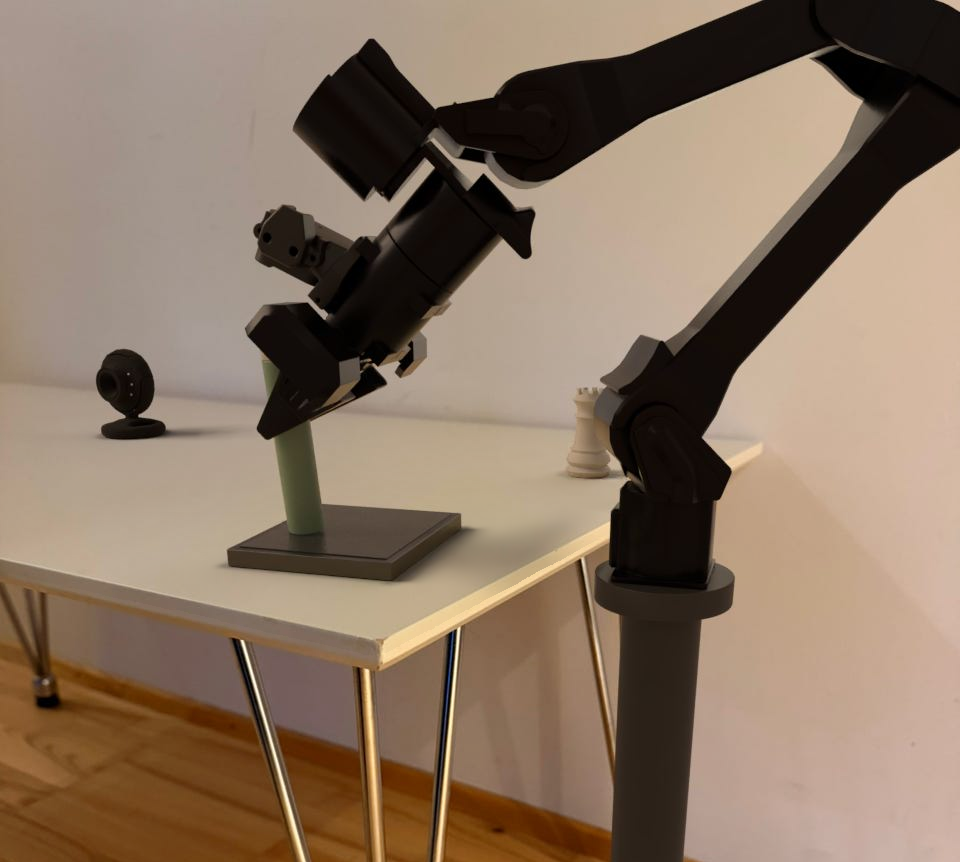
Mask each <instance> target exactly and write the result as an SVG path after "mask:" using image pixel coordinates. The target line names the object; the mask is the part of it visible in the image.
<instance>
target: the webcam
mask: <svg viewBox="0 0 960 862" xmlns="http://www.w3.org/2000/svg"><path fill="white" fill-rule="evenodd" d="M95 376H96V377H95V385H96V390H97V392H98V394H99V395H100V398H102V399H103V400H104V401H105V402H107V403H109V405H110V406H111V407H112V408H113V409H114V410H115V411H117V412H118V413H120V414H122V415H123V416H124V418H118V419H116V420H114V421H111V422H106V423H104V424H102V425H101V427H100V432H101V435H102V436H103V437H105V438H106V439H113V440H127V439H128V440H130V439H131V440H133V439H144V438H145V439H146V438H150V437H151V438H152V437H157V436H160V435H162V434H164V433H165V432H166V430H167V427H166V424H165V423H164V422H163V421H161V420H158V419H155V418H150V417H142V416H140V415H141V414H143V413H145V412H147V410H148V409H149V408H150V406H151V405H152V403H153V402H154V398H155V391H156V388H155V379H154V375H153V372H152V370H151V367H150V365H149V363H148V362H147V361H146V359H145V358H144V357H143V356H142V355H141V354H139V353H138V352H136V351H134V350H132V349H129V348H118V349H114V350H112V351H111V352H109V353H107V354H106V355H105V357H104V358H103V360H102V361H101V365H100V368H99V369H98V370H97V372H96V375H95Z"/></svg>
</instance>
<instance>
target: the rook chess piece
mask: <svg viewBox="0 0 960 862" xmlns="http://www.w3.org/2000/svg"><path fill="white" fill-rule="evenodd" d="M604 388H605V387H598V386H597V387H594V386H592V387H591V390H589V387H587V386H584V387H578V388H576V394H575V395H574V396H573V397H572V401H573V403H574V404H575V406H576V409H577V411H576V413H575V414H574V417H575V418H576V427H575V434H574V439H573V443H572V446H570V451H569V452H568V453H567V454H566V457H565V461H566V462H567V466H565V467H564V471H565V472H566V473H567V475H568V476H571V477H575V478H583V479H597V478H602V477H603V478H604V477H606V476H608V475H609V473H610V472H611V471H612V468H611V466H609V464H610V462H611V461H612V460H611V457H610V453H609V452H608V451H607V450H606V448H605V447H604V446H603V445H602V443H601V442H600V441H599V440H598V437H597V435H596V432H595V429H594V417H593V414H594V412H593V409H594V406H595V403H596V400H597V399H598V397H599V396H600V394H601V392H602V391H603V389H604Z"/></svg>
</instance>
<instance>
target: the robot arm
mask: <svg viewBox="0 0 960 862" xmlns="http://www.w3.org/2000/svg"><path fill="white" fill-rule="evenodd" d="M805 59H808V60H811V61H812V62H814V63H816V64H818V65H819V66H821V67H822V68H823V69H824V70H825V71H826V72H827V73H828V74H829V75H830V76H831V77H832V78H833V79H834V80H835V81H836V82H838V84H839V85H841V86H842V88H844V90H846V92H848V93H849V94H850V95H852V96H853V97H855V98H857V99H858V100H860V101H862V102H861V104H860V105H859V107H858V109H857V111H856V113H855V116H854V118H853V120H852V123H851V125H850V127H849V130H848V132H847V134H846V137H845V139H844V142H843V144H842V146H841V148H840V149H839V150H838V152H837V153H836V155H835V156H834V157H833V158H832V159H831V161H830V162H829V163H828V164H827V165H826V167H824V169H823V170H822V171H821V172H820V173H819V175H818V176H817V177H816V178H814V180H813V181H812V182H811V183H810V185H809V186H808V187H807V188H806V189H805V191H803V193H802V194H801V195H800V196H799V197H798V199H797V200H796V201H795V202H794V203H793V204H792V205H791V206H790V208H789V209H787V211H786V212H785V213H784V214H783V216H781V217H780V219H779V220H778V221H777V222H776V224H775V225H774V226H773V227H772V228H771V229H770V230H769V232H768V233H767V234H766V235H765V236H764V237H763V238H762V240H760V242H759V243H758V244H757V245H756V247H754V249H753V250H752V251H751V252H750V253H749V254H748V255H747V256H746V257H745V259H744V260H743V261H742V262H741V263H740V264H739V265H738V267H737V268H736V269H735V271H733V272H732V274H731V275H730V276H729V277H728V278H727V279H726V280H725V282H724V283H723V284H722V285H721V286H720V288H718V290H717V291H716V292H715V293H714V294H713V295H712V297H710V299H709V300H708V301H707V302H706V304H704V305H703V307H702V308H701V309H700V310H699V311H698V312H697V313H696V315H695V316H694V317H693V318H692V319H691V320H690V322H689V323H687V325H686V326H685V327H684V328H682V329H681V330H680V331H679V332H677V333H675V334H674V335H673V336H671V337H670V338H668V339H667V340H662V339H659V338H655V337H653V336H649V335H646V334H643V333H642V334H640V335H638V337H637V338H636V339H635V341H634V342H633V343H632V345H631V346H630V348H629V350H628V351H627V353H626V354H625V356H624V358H623V359H622V361H620V363H619V364H618V365H617V366H616V367H615V368H614V369H613V370H612V371H610V372H609V373H606V374H605V375H602V376H601V377H600V378H599V382H600V383H602V384H603V385H605V387H603V388H604V389H603V391H602V392H601V394H600V396H599V397H598V399H597V400H596V403H595V406H594V409H593V412H594V414H593V417H594V429H595V432H596V435H597V437H598V440H599V441H600V442H601V443H602V445H603V446H604V447H605V448H606V451H607V452H608V453H609V454H610V455H612V457H614V459H615V460H616V461H618V463H619V465H620V469H621V470H622V471H621V472H622V475H623V476H624V477H625V478H628V479H629V480H626V481H625V482H624V484H623V485H622V486H621V487H620V488H619V499H618V502H617V503H616V504H615V505H614V507H613V508H612V509H611V510H610V521H609V541H608V542H609V543H608V544H609V545H608V546H609V547H608V560H609V565H610V567H611V568H615V569H614V571H613V572H612V574H611V581H612V582H615V583H625V584H637V585H648V586H660V587H672V588H683V589H695V590H705V589H707V588H708V585H709V582H710V579H711V576H712V573H713V570H714V567H715V563H716V558H713V555H714V544H715V543H714V542H715V532H716V531H715V530H716V529H715V528H716V517H717V505H718V501H720V500H721V499H722V497H723V494H724V492H725V490H726V488H727V485H728V483H729V480H730V478H731V477H732V473H733V469H732V468H731V467H730V465H729V464H728V463H727V462H726V461H725V460H724V459H723V458H722V456H720V455H719V454H718V453H717V452H716V451H715V449H713V448H712V446H711V445H710V444H709V443H708V442H707V441H706V440H705V439H704V438H703V437H704V435H705V433H707V431H708V429H709V428H710V426H711V424H713V422H714V420H715V418H716V417H717V415H718V413H719V411H720V407H721V406H722V405H723V401H724V399H725V397H726V395H727V392H728V390H729V388H730V386H731V383H732V380H733V378H734V376H735V375H736V372H737V371H738V370H739V368H740V367H741V365H743V364H744V362H746V361H747V359H748V358H749V357H750V356H751V354H752V353H753V352H754V351H756V349H757V348H758V347H759V346H760V345H761V344H762V342H763V341H764V340H765V339H767V337H768V336H769V335H770V333H772V331H773V330H774V329H775V328H776V327H777V326H778V325H779V324H780V322H781V321H782V320H783V319H784V318H785V317H786V316H787V315H788V314H789V313H790V311H791V310H792V309H793V308H794V307H795V306H796V305H797V304H798V302H800V300H801V299H802V298H804V296H805V295H806V294H807V293H808V292H809V291H810V289H811V288H812V287H813V286H814V285H815V284H816V283H817V282H818V281H819V279H820V278H821V277H822V276H823V275H824V274H825V273H826V271H827V270H829V269H830V267H831V266H832V265H833V264H834V263H835V262H836V260H837V259H838V258H839V257H840V256H841V255H842V254H843V253H844V252H845V251H846V250H847V249H848V247H850V245H851V244H852V243H853V242H854V241H855V240H856V238H857V237H858V236H859V235H860V234H861V233H863V231H864V230H865V229H866V227H867V226H869V224H870V223H871V222H872V220H874V218H875V217H877V215H878V214H879V213H880V212H881V211H882V210H883V209H884V207H886V206H887V204H888V203H889V202H890V201H891V200H892V199H893V197H894V196H895V195H896V194H898V192H899V191H900V190H902V189H903V188H904V187H905V186H907V185H908V184H910V183H911V182H913V181H914V180H915V179H917V178H919V177H920V176H922V175H923V174H925V173H927V172H928V171H929V170H931V169H932V168H934V167H935V166H937V165H939V164H940V163H942V162H944V160H946V159H947V158H949V157H951V156H952V155H954V154H955V153H957V152H958V151H959V150H960V11H959V10H958V9H956V8H955V7H953V6H952V5H950V4H947V3H945V2H944V1H940V0H759V1H757V2H754V3H752V4H749V5H747V6H744V7H741V8H739V9H737V10H734V11H731V12H730V13H727V14H725V15H722V16H720V17H718V18H715V19H713V20H709V21H707V22H705V23H703V24H700V25H698V26H696V27H693V28H691V29H687V30H685V31H683V32H681V33H678V34H676V35H673V36H671V37H668V38H666V39H662V40H661V41H657V42H656V43H653V44H651V45H648V46H646V47H644V48H642V49H639V50H637V51H634V52H632V53H631V52H630V53H627V54H621V55H617V56H614V57H606V58H594V59H585V60H584V59H583V60H576V61H569V62H565V63H559V64H556V65H549V66H545V67H541V68H535V69H530V70H529V69H528V70H525V71H522V72H519V73H517V74H515V75H513V76H512V77H510V78H509V79H507V80H506V81H505V82H503V84H502V85H501V86H500V87H498V90H497V91H496V92H495V94H494V95H493V96H492V97H487V98H481V99H475V100H470V101H465V102H460V103H457V101H453V102H452V103H451V104H448V105H442V106H437V107H436V108H435V107H434V106H433V105H432V104H431V103H430V101H428V100H427V99H426V97H425V96H423V94H422V93H421V92H420V91H419V90H418V89H417V88H416V87H415V86H414V85H413V84H412V82H410V80H408V78H407V77H406V76H405V75H404V74H403V73H402V72H401V71H400V70H399V69H398V68H397V66H396V64H395V62H394V61H393V59H392V57H391V55H390V54H389V53H388V52H387V50H385V48H384V47H383V46H382V45H381V44H380V43H379V42H378V41H377V40H376V39H375V38H373V37H372V38H368V39H367V40H366V41H365V42H364V44H363V45H362V46H361V48H360V49H358V51H357V52H356V53H354V54H353V55H351V56H350V57H349V58H347V60H345V61H344V62H343V63H342V64H341V65H340V66H339V67H338V68H337V69H336V71H334V73H332V75H331V74H330V73H328V74H327V75H326V76H325V77H324V78H323V79H322V81H321V82H320V83H319V85H318V86H317V87H316V88H315V89H314V91H313V92H312V94H311V95H310V96H309V98H308V99H307V101H305V103H304V105H303V107H302V108H301V110H300V111H299V113H298V115H297V117H296V118H295V120H294V123H293V125H292V132H293V133H294V134H295V135H296V136H297V137H298V138H299V139H300V140H301V141H302V142H303V143H304V144H305V145H306V146H307V147H308V148H309V149H310V150H311V151H312V152H313V153H314V154H315V155H316V156H317V157H318V158H319V159H320V160H321V161H322V162H323V163H324V164H325V165H326V166H327V167H328V168H329V169H330V170H331V171H332V172H333V173H334V174H335V175H336V176H337V177H338V178H339V179H340V180H341V181H342V182H343V183H344V184H345V185H346V186H347V187H348V188H349V189H350V190H351V191H352V192H353V193H354V194H355V195H356V196H357V197H358V198H359V199H360V200H361V201H362V202H363V203H365V202H367V201H368V200H370V199H371V198H372V196H374V194H375V193H377V194H378V195H379V196H380V197H381V198H383V199H385V201H386V202H387V203H391V202H392V201H393V200H394V199H395V198H396V197H397V196H398V195H399V194H400V193H401V192H402V190H403V189H404V188H405V187H406V186H407V184H409V182H410V181H411V180H412V179H413V177H414V176H415V175H416V174H417V172H419V170H420V169H421V167H422V166H423V165H424V163H426V161H428V163H430V164H431V166H433V169H432V170H431V171H430V172H429V174H428V175H426V177H425V178H424V180H423V181H422V182H421V183H420V184H419V186H418V187H416V189H415V190H414V192H413V193H412V194H411V195H410V196H409V197H408V198H407V200H406V201H405V202H404V204H403V205H402V206H401V207H400V208H399V210H398V211H397V212H396V213H395V214H394V215H393V216H392V218H391V219H390V220H389V221H388V223H387V224H386V225H385V226H384V227H383V228H382V230H381V231H380V232H379V233H378V234H377V236H376V235H361V236H359V237H357V238H356V239H355V240H353V239H350V238H349V237H347V236H345V235H344V234H341V233H339V232H338V231H336V230H333V229H331V228H329V227H328V226H326V225H324V224H322V223H320V222H318V221H316V220H315V216H314V215H312V214H310V213H305V212H301V211H299V210H297V207H296V206H295V205H291V204H284V203H282V204H281V205H279V206H278V207H277V208H276V209H273V208H271V209H269V211H268V210H266V211H265V213H264V216H263V218H262V220H261V222H258V223H256V224H254V226H253V228H252V234H253V235H254V237H255V238H256V239H257V243H256V244H257V249H256V253H255V255H254V259H255V261H256V262H258V263H259V264H261V265H263V266H264V267H266V268H269V269H270V268H275V269H277V270H279V271H280V272H283V273H285V274H286V275H289V276H291V277H293V278H295V279H296V280H298V281H300V282H302V283H305V284H306V285H309V286H310V287H313V288H312V289H311V290H310V292H308V294H307V297H308V298H309V299H310V300H311V301H312V302H313V304H315V306H317V307H318V309H319V310H321V311H324V312H325V313H326V314H327V316H326V317H325V319H324V318H323V317H322V316H321V314H319V312H318V311H317V310H316V309H315V308H314V307H313V306H312V305H311V303H309V302H308V301H285V302H276V303H275V302H274V303H265V304H263V305H262V306H261V307H260V308H259V310H258V311H257V312H256V314H254V316H253V317H252V318H251V319H250V321H249V322H248V323H247V324H246V326H245V327H244V330H245V331H244V332H245V335H246V337H247V338H248V339H249V340H250V341H251V342H252V344H254V345H255V346H256V348H258V349H259V351H260V350H261V351H262V352H263V353H264V354H265V355H266V357H267V358H268V359H269V360H270V361H271V362H272V363H273V364H274V365H275V366H276V367H277V368H278V369H279V370H280V371H279V374H278V377H277V380H276V382H275V385H274V387H273V389H272V392H271V394H270V397H269V399H268V398H267V401H266V404H265V406H264V408H263V411H262V413H261V416H260V418H259V420H258V423H257V425H256V432H257V433H258V434H259V435H260V436H261V437H262V438H263V439H264V440H266V441H270V440H272V439H274V437H276V436H278V435H280V434H282V433H284V432H286V431H289V430H291V429H293V428H295V427H297V426H299V425H301V424H303V423H305V422H307V421H309V420H310V423H311V422H313V421H315V420H317V419H319V418H321V417H324V416H326V415H328V414H330V413H332V412H335V411H337V410H339V409H341V408H343V407H345V406H347V405H350V404H351V403H353V402H356V401H357V400H360V399H362V398H364V397H366V396H368V395H370V394H372V393H375V392H377V391H379V390H381V389H384V388H386V387H387V386H388V381H387V379H386V378H385V377H384V376H383V375H382V374H381V372H379V370H378V369H376V367H377V368H379V367H382V366H386V365H388V364H392V363H396V362H398V363H399V365H398V366H397V367H396V369H395V371H394V374H395V375H396V376H397V377H398V378H399V379H403V378H406V377H408V376H410V375H412V374H413V373H414V372H415V371H416V369H418V367H420V365H421V364H422V363H423V362H424V361H425V360H426V359H427V358H428V339H427V337H426V336H425V335H424V334H423V332H421V330H422V329H423V328H424V327H425V326H426V325H427V324H428V323H429V322H430V320H431V319H432V318H434V317H438V316H443V315H444V313H445V312H446V311H447V310H448V309H449V308H450V307H451V306H452V305H453V303H452V301H451V300H450V299H451V298H452V296H453V295H454V294H455V293H456V292H457V291H458V290H459V288H460V287H461V286H462V285H463V284H464V283H465V282H466V281H467V279H468V278H469V277H470V276H471V275H472V274H473V273H474V272H475V271H476V270H477V268H478V267H479V266H480V265H481V264H482V263H483V262H484V261H485V260H486V259H487V258H488V256H489V255H490V254H491V253H492V252H493V251H494V250H495V248H497V246H498V245H499V244H500V243H501V242H502V241H504V242H505V243H506V244H507V245H508V246H509V247H510V248H511V249H512V250H513V251H514V252H515V253H516V255H518V256H519V257H520V259H522V260H528V259H530V258H531V257H532V256H533V252H534V247H535V241H534V223H535V219H536V218H537V217H536V216H537V212H538V209H537V208H536V206H534V205H529V206H516V205H515V204H514V203H513V202H512V201H511V200H510V199H509V198H508V197H507V196H506V195H505V194H504V193H503V191H502V190H501V189H500V188H499V187H498V186H497V185H496V184H495V183H494V182H493V181H492V180H491V179H490V178H489V176H488V175H486V173H484V172H483V173H482V174H481V175H480V176H479V177H478V178H477V179H476V180H475V182H473V181H471V179H470V178H469V177H467V176H466V175H465V174H464V173H463V172H462V171H461V170H460V168H458V167H457V166H456V165H455V164H454V163H453V162H452V161H451V160H450V159H449V158H448V157H447V156H446V155H445V154H444V153H443V152H442V151H441V149H439V147H438V146H437V145H436V144H435V143H434V142H433V141H432V140H433V139H434V140H435V141H436V142H437V143H438V144H439V145H440V146H441V147H442V148H443V149H444V151H446V152H447V154H449V156H450V157H452V158H453V159H455V160H460V161H465V162H471V163H475V164H481V165H486V166H487V168H488V170H489V171H490V172H491V173H492V175H493V176H495V177H496V178H497V179H498V181H500V182H502V183H504V184H506V185H508V186H510V187H511V188H514V189H515V190H531V189H536V188H539V187H541V186H544V185H546V184H548V183H550V182H551V181H553V180H554V179H556V178H558V177H559V176H561V175H562V174H564V173H566V172H568V171H569V170H570V169H572V168H574V167H575V166H577V165H578V164H580V163H581V162H583V161H584V160H586V159H587V158H589V157H591V156H592V155H594V154H595V153H598V152H599V151H601V150H602V149H604V148H606V147H607V146H608V145H611V143H613V142H614V141H616V140H618V139H619V138H621V137H622V136H625V134H627V133H629V132H630V131H632V130H633V129H635V128H636V127H639V126H642V125H643V124H646V123H649V122H651V121H653V120H656V119H659V118H661V117H663V116H666V115H669V114H671V113H674V112H676V111H678V110H681V109H683V108H686V107H689V106H690V105H693V104H696V103H698V102H701V101H703V100H706V99H708V98H710V97H713V96H716V95H718V94H720V93H722V92H725V91H728V90H730V89H733V88H736V87H737V86H741V85H743V84H746V83H748V82H750V81H752V80H755V79H757V78H761V77H763V76H765V75H768V74H770V73H772V72H776V71H777V70H781V69H782V68H785V67H788V66H790V65H792V64H796V63H798V62H800V61H803V60H805Z"/></svg>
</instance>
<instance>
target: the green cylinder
mask: <svg viewBox="0 0 960 862" xmlns="http://www.w3.org/2000/svg"><path fill="white" fill-rule="evenodd" d="M259 354H260V360H261V366H262V372H263V379H264V386H265V391H266V399H267V400H268V399H269V397H270V394H271V392H272V389H273V387H274V385H275V382H276V380H277V377H278V374H279V371H280V370H279V369H278V368H277V367H276V366H275V365H274V364H273V363H272V362H271V361H270V360H269V359H268V358H267V357H266V355H265V354H264V353H263V352H262V351H261V350H260V349H259ZM273 440H274V448H275V449H274V450H275V454H276V455H275V456H276V460H277V467H278V473H279V479H280V485H281V492H282V498H283V504H284V505H283V506H284V511H285V517H286V520H287V524H288V530H289V532H290V533H292V534H296V535H307V534H313V533H316V532H319V531H321V530H323V529H324V528H325V523H324V516H323V509H322V504H323V501H322V495H321V488H320V480H319V474H318V466H317V459H316V453H315V446H314V438H313V431H312V424H311V422H310V420H309V421H307V422H305V423H303V424H301V425H299V426H297V427H295V428H293V429H291V430H289V431H286V432H284V433H282V434H280V435H278V436H276V437H274V438H273Z"/></svg>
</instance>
